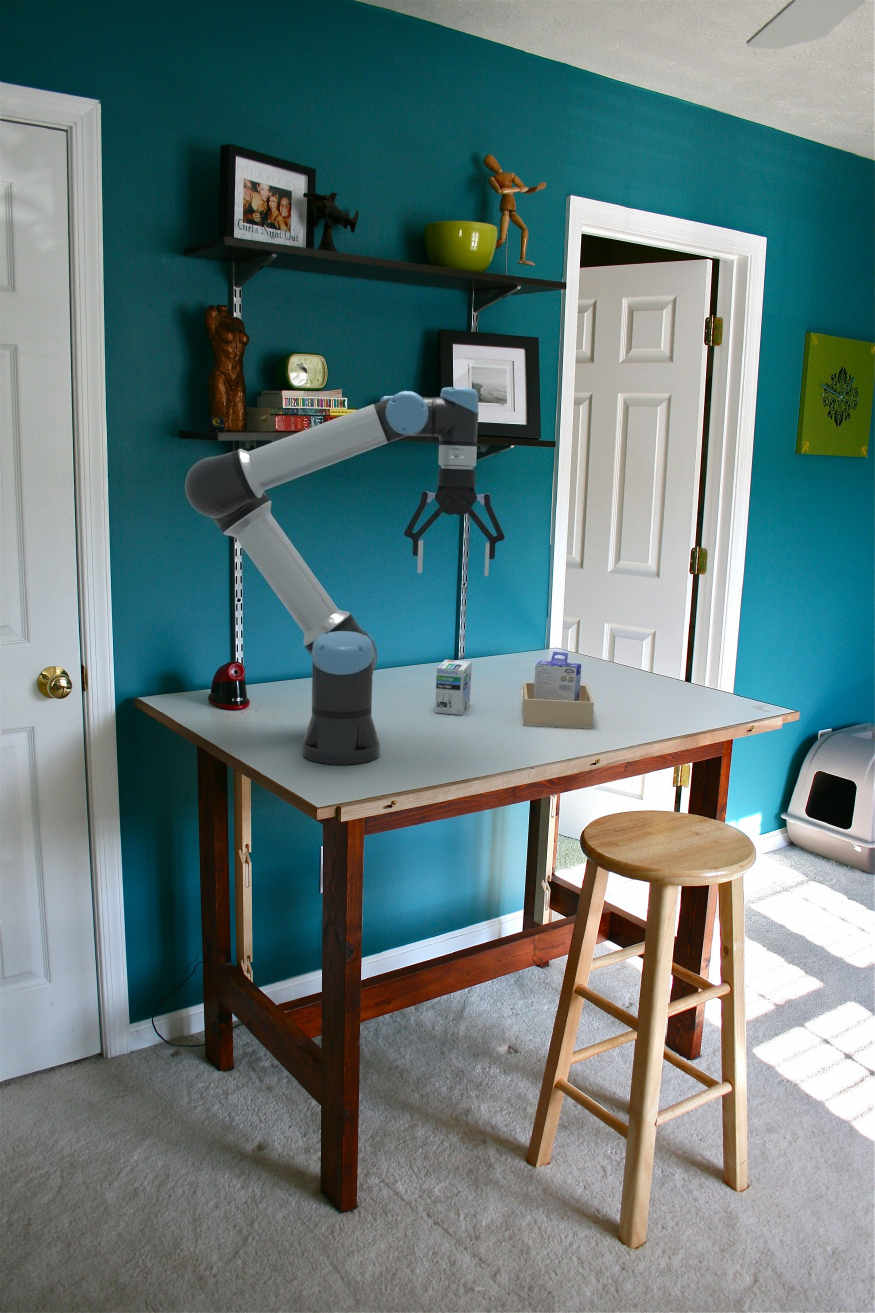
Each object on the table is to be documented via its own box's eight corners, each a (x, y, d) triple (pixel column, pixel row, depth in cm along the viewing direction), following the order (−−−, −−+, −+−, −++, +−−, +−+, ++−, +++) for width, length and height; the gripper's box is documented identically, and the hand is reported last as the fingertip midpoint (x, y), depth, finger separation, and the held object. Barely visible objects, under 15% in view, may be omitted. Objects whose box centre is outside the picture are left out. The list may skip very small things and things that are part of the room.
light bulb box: (462, 716, 227) (464, 670, 225) (434, 713, 229) (435, 667, 226) (470, 705, 238) (472, 661, 235) (443, 702, 239) (444, 658, 237)
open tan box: (523, 725, 221) (524, 699, 220) (520, 685, 259) (521, 663, 258) (592, 729, 220) (593, 702, 219) (579, 688, 258) (580, 666, 257)
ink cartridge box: (579, 714, 229) (583, 653, 227) (574, 720, 224) (578, 657, 221) (537, 709, 233) (541, 649, 230) (531, 715, 227) (535, 653, 225)
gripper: (392, 465, 195) (390, 573, 199) (520, 470, 193) (514, 578, 197) (396, 465, 202) (394, 569, 206) (519, 469, 200) (514, 574, 205)
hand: (453, 574), depth 202 cm, fingers open, 13 cm apart
